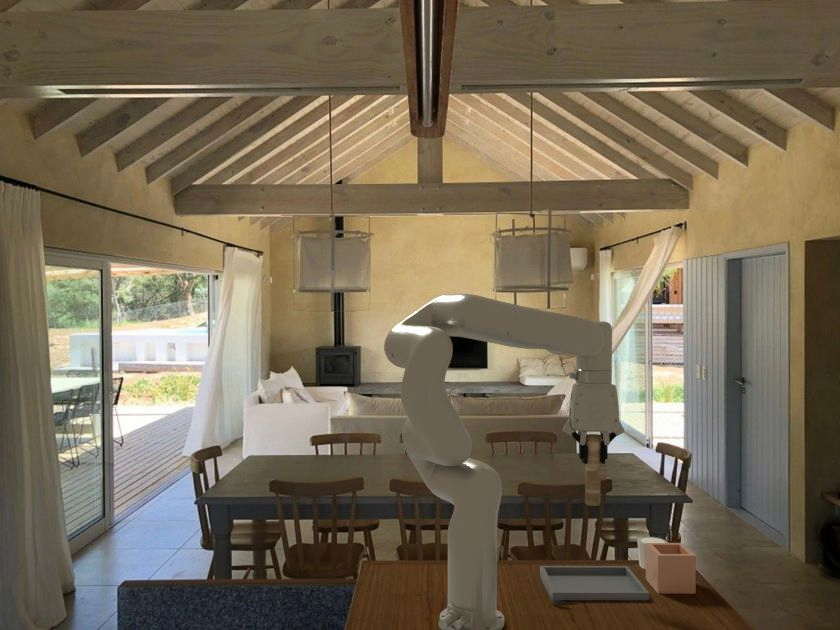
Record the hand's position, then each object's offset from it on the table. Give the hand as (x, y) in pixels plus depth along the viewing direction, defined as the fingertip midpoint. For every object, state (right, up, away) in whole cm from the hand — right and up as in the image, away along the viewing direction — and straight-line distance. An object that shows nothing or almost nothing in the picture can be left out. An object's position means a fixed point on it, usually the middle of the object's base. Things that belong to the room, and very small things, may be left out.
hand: (593, 461), depth 153 cm
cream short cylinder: (+17, -28, +12) cm, 35 cm away
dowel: (0, -9, 0) cm, 9 cm away
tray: (0, -28, 0) cm, 28 cm away
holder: (+17, -28, 0) cm, 33 cm away
